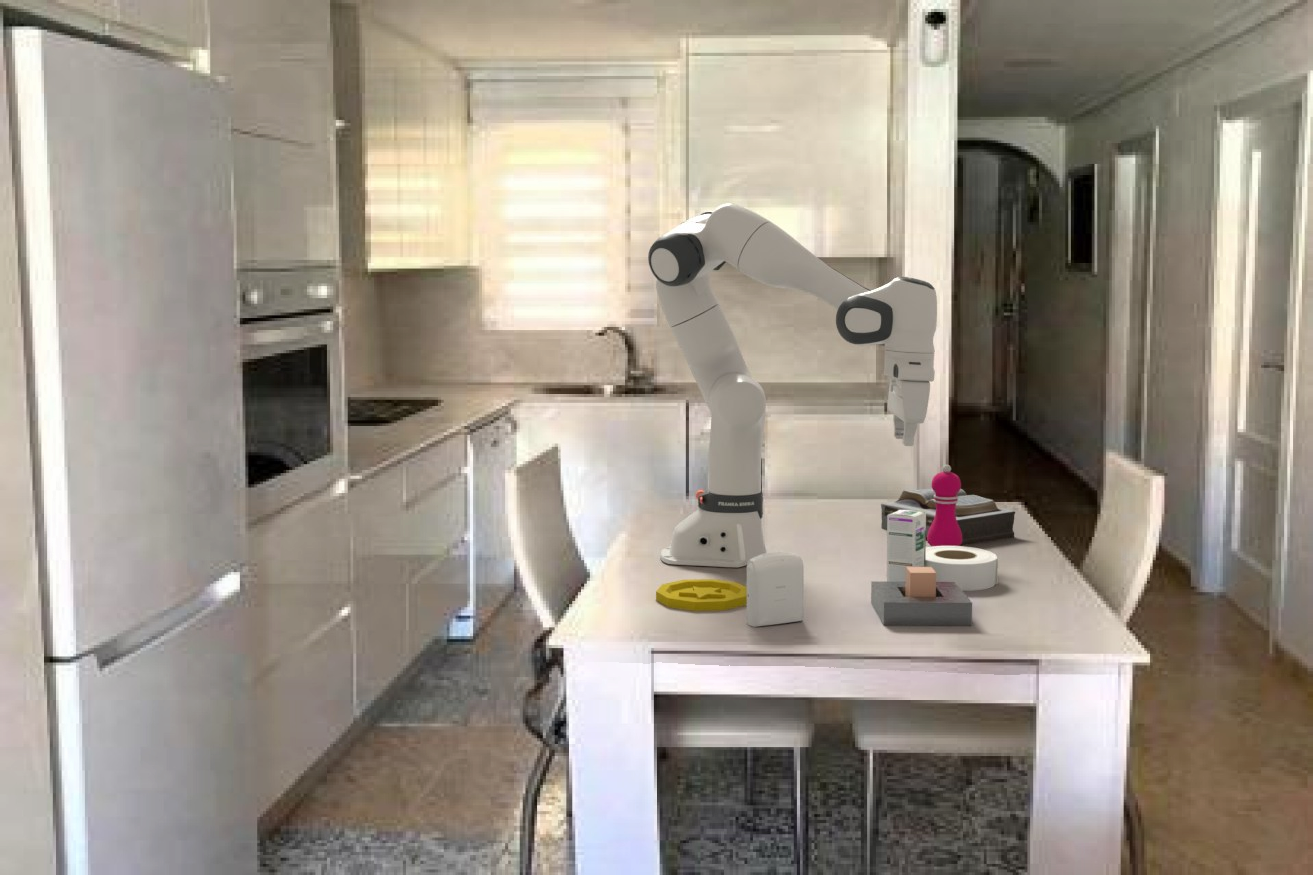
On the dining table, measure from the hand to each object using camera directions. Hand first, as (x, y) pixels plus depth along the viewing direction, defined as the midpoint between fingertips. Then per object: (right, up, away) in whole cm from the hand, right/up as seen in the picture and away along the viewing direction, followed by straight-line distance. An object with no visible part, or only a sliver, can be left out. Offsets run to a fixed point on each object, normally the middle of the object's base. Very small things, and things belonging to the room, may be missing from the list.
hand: (903, 442), depth 244 cm
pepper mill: (+15, -25, +34) cm, 44 cm away
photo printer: (-25, -31, -15) cm, 43 cm away
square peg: (+1, -30, -10) cm, 32 cm away
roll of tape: (+13, -28, +15) cm, 34 cm away
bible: (+21, -22, +61) cm, 68 cm away
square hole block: (+1, -30, -10) cm, 32 cm away
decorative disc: (-37, -30, +1) cm, 47 cm away
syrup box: (+2, -28, +10) cm, 30 cm away
